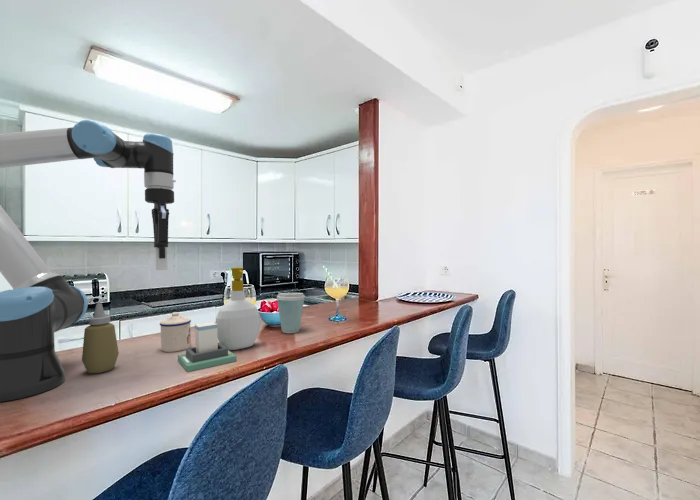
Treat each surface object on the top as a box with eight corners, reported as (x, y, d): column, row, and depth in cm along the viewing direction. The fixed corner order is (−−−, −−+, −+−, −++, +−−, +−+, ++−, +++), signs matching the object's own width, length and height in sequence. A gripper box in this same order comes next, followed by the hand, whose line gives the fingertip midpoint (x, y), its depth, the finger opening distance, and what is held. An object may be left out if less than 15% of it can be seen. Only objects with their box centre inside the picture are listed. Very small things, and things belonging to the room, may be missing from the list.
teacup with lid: (194, 348, 111) (193, 312, 111) (163, 354, 105) (162, 316, 105) (185, 340, 120) (185, 307, 120) (156, 345, 115) (155, 311, 115)
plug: (199, 359, 96) (198, 327, 95) (195, 355, 99) (194, 324, 99) (219, 355, 99) (218, 324, 99) (215, 351, 102) (214, 321, 102)
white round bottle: (219, 355, 103) (218, 269, 102) (212, 348, 110) (210, 267, 110) (265, 347, 111) (264, 266, 111) (256, 341, 118) (254, 265, 118)
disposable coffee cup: (277, 328, 135) (276, 291, 135) (305, 327, 137) (304, 289, 137) (276, 335, 125) (275, 294, 124) (306, 334, 127) (305, 293, 126)
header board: (187, 372, 90) (187, 358, 90) (178, 360, 100) (177, 348, 100) (236, 361, 98) (236, 348, 98) (223, 351, 108) (223, 340, 107)
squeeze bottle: (81, 369, 93) (79, 303, 93) (117, 362, 98) (115, 300, 98) (82, 378, 87) (80, 307, 87) (120, 370, 92) (118, 303, 92)
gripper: (178, 187, 97) (180, 270, 98) (169, 193, 108) (171, 268, 108) (147, 184, 93) (150, 271, 93) (141, 191, 103) (144, 269, 103)
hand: (161, 269), depth 101 cm, fingers closed
